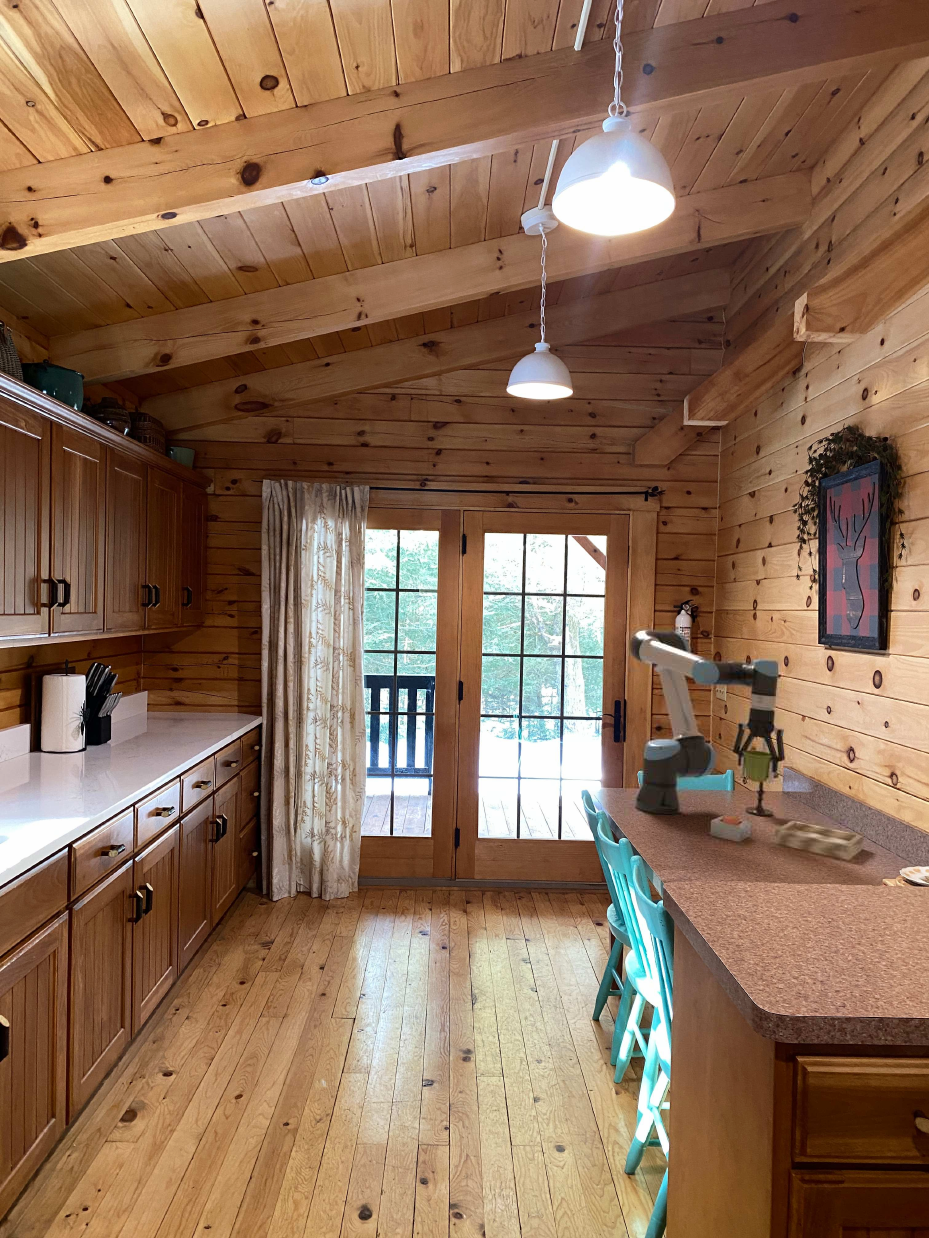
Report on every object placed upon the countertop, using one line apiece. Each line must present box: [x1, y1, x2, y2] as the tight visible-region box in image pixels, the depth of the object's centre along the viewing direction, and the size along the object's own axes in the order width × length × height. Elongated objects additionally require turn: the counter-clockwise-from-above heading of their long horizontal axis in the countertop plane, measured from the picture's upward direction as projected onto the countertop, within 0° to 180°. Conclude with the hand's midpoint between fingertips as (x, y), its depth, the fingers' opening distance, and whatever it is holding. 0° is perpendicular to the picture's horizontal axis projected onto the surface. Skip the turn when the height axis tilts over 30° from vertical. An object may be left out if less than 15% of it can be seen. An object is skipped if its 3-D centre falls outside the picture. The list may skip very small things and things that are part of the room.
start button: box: [722, 815, 741, 825], centre depth 259 cm, size 5×5×3 cm
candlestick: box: [744, 738, 780, 818], centre depth 292 cm, size 11×11×35 cm
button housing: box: [709, 815, 751, 843], centre depth 259 cm, size 9×9×4 cm
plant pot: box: [743, 749, 772, 783], centre depth 266 cm, size 9×9×9 cm
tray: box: [774, 820, 864, 861], centre depth 254 cm, size 21×17×4 cm
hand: (756, 779), depth 266 cm, fingers closed on plant pot, 8 cm apart
